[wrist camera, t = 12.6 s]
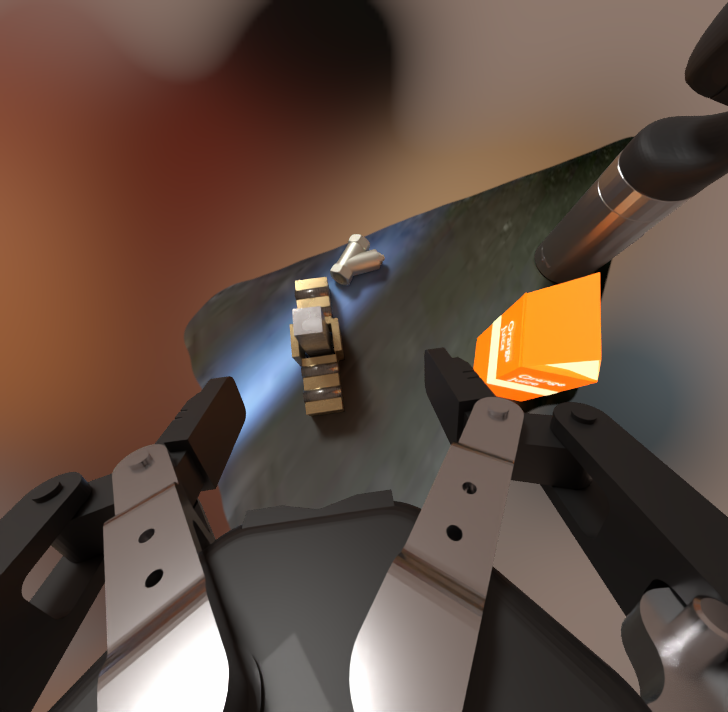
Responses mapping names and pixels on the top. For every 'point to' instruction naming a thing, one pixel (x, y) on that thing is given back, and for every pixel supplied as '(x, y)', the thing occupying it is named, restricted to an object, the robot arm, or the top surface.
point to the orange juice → (544, 342)
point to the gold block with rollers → (322, 370)
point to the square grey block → (312, 331)
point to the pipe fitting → (356, 260)
